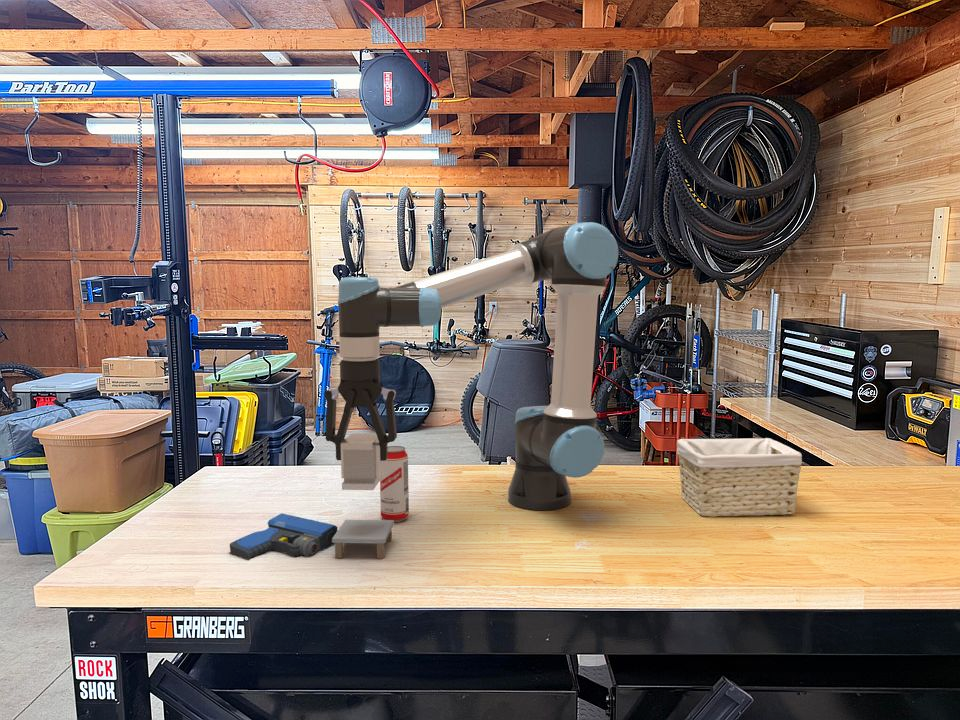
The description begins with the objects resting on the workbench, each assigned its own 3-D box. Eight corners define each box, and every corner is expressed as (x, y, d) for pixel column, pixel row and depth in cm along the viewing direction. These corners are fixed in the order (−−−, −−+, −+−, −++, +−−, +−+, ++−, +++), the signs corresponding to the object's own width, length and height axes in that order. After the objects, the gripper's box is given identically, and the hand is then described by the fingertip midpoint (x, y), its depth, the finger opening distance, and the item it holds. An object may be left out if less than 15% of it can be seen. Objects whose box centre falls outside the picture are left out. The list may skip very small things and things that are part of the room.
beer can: (403, 524, 137) (402, 452, 136) (376, 522, 139) (375, 451, 137) (412, 514, 144) (411, 445, 142) (386, 512, 145) (385, 444, 143)
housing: (373, 490, 119) (372, 443, 118) (341, 489, 119) (340, 443, 118) (381, 477, 127) (380, 433, 126) (352, 477, 127) (351, 433, 126)
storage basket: (695, 519, 140) (698, 454, 139) (672, 495, 156) (674, 437, 155) (802, 518, 140) (806, 453, 139) (768, 495, 157) (771, 436, 155)
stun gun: (284, 556, 115) (338, 522, 128) (224, 540, 122) (282, 509, 135) (286, 577, 116) (340, 541, 128) (227, 560, 123) (284, 527, 136)
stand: (394, 538, 129) (393, 520, 129) (384, 559, 120) (384, 539, 119) (345, 538, 130) (345, 519, 129) (332, 558, 120) (332, 538, 120)
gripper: (412, 356, 124) (413, 471, 126) (316, 356, 125) (319, 470, 127) (406, 360, 116) (407, 482, 119) (304, 360, 117) (308, 481, 120)
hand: (362, 476), depth 123 cm, fingers closed on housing, 6 cm apart
